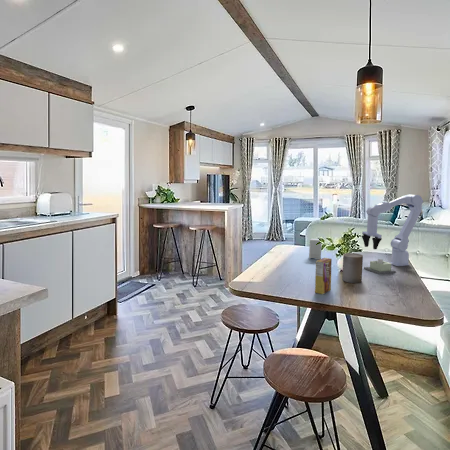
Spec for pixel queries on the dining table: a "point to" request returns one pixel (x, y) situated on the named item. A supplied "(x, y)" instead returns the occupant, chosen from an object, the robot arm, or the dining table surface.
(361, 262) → the pillar candle
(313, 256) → the supplement box
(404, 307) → the dining table surface
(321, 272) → the candy box
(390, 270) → the post stand
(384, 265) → the collar
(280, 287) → the dining table surface
